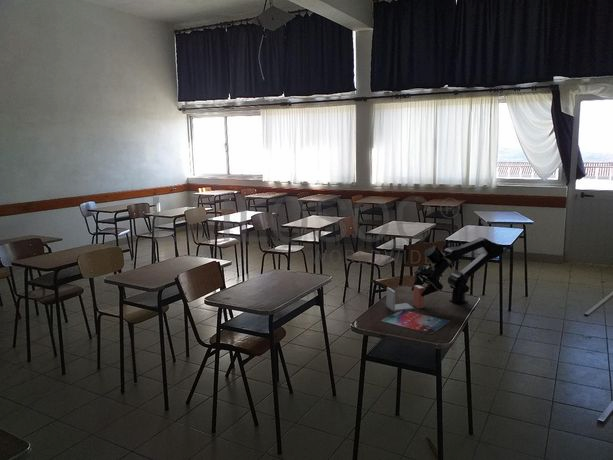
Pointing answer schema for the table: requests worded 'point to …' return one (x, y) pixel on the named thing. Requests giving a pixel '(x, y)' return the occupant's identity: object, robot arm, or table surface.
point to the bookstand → (391, 302)
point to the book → (418, 296)
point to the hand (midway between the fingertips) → (416, 293)
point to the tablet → (416, 321)
